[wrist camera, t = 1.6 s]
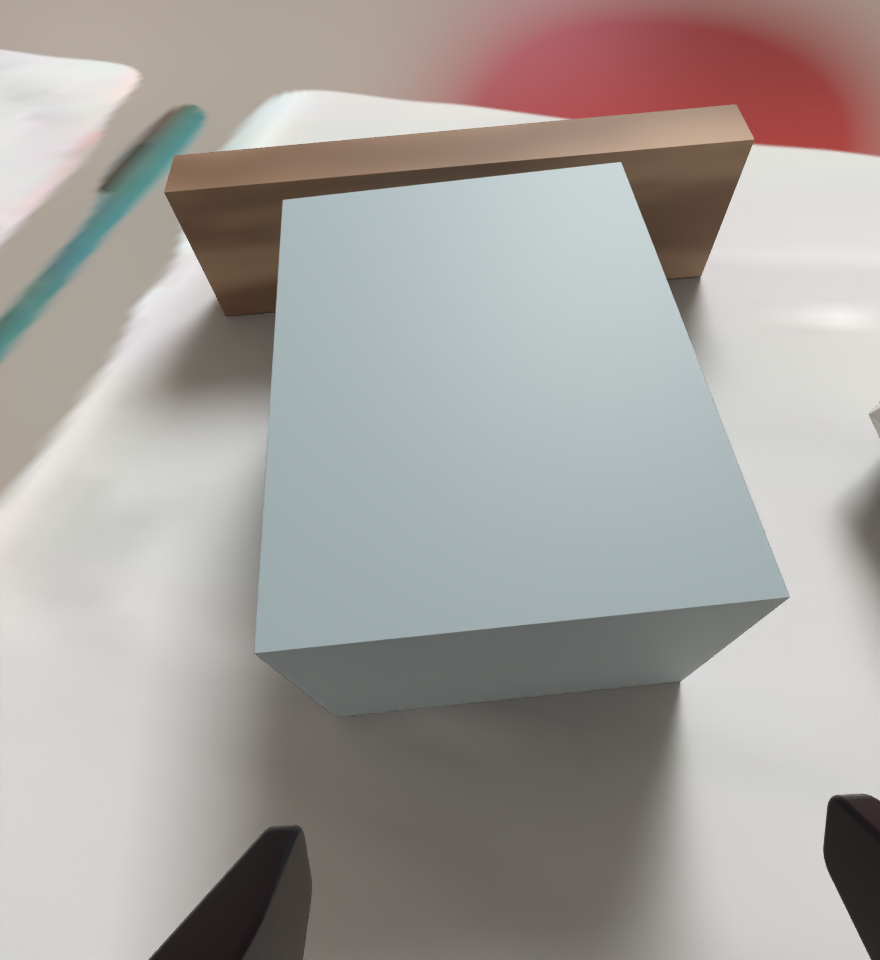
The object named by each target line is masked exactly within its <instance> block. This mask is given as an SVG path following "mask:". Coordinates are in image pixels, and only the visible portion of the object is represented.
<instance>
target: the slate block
mask: <svg viewBox="0 0 880 960" xmlns="http://www.w3.org/2000/svg"><path fill="white" fill-rule="evenodd" d="M789 597H790V596H789V593H788V591H787V588H786V586H785V583H784V580H783V578H782V575H781V573H780V570H779V568H778V565H777V562H776V560H775V557H774V555H773V552H772V549H771V547H770V544H769V542H768V539H767V537H766V534H765V531H764V529H763V526H762V524H761V521H760V519H759V516H758V513H757V511H756V508H755V506H754V503H753V501H752V498H751V495H750V493H749V490H748V488H747V485H746V483H745V480H744V477H743V475H742V472H741V470H740V467H739V464H738V462H737V459H736V457H735V454H734V452H733V449H732V446H731V444H730V441H729V439H728V436H727V434H726V431H725V428H724V426H723V423H722V421H721V418H720V416H719V413H718V410H717V408H716V405H715V403H714V400H713V398H712V395H711V392H710V390H709V387H708V385H707V382H706V379H705V377H704V374H703V372H702V369H701V367H700V364H699V361H698V359H697V356H696V354H695V351H694V349H693V346H692V343H691V341H690V338H689V336H688V333H687V331H686V328H685V325H684V323H683V320H682V318H681V315H680V313H679V310H678V307H677V305H676V302H675V300H674V297H673V295H672V292H671V289H670V287H669V284H668V282H667V279H666V276H665V274H664V271H663V269H662V266H661V264H660V261H659V258H658V256H657V253H656V251H655V248H654V246H653V243H652V240H651V238H650V235H649V233H648V230H647V228H646V225H645V222H644V220H643V217H642V215H641V212H640V210H639V207H638V204H637V202H636V199H635V197H634V194H633V191H632V189H631V186H630V184H629V181H628V179H627V176H626V173H625V171H624V168H623V166H622V163H621V162H617V163H608V164H599V165H590V166H581V167H572V168H563V169H554V170H545V171H536V172H527V173H519V174H510V175H501V176H492V177H483V178H474V179H465V180H456V181H447V182H438V183H429V184H420V185H412V186H403V187H394V188H385V189H376V190H367V191H358V192H349V193H340V194H331V195H322V196H314V197H305V198H296V199H287V200H283V205H282V221H281V236H280V252H279V268H278V284H277V300H276V315H275V331H274V347H273V363H272V379H271V395H270V410H269V426H268V442H267V458H266V474H265V489H264V505H263V521H262V537H261V553H260V568H259V584H258V600H257V616H256V632H255V648H254V654H256V655H257V656H258V657H260V658H261V659H262V660H263V661H265V662H266V663H267V664H269V665H270V666H271V667H272V668H274V669H275V670H276V671H278V672H279V673H280V674H281V675H283V676H284V677H285V678H286V679H288V680H289V681H290V682H292V683H293V684H294V685H295V686H297V687H298V688H299V689H301V690H302V691H303V692H304V693H306V694H307V695H308V696H310V697H311V698H312V699H313V700H315V701H316V702H317V703H318V704H320V705H321V706H322V707H324V708H325V709H326V710H327V711H329V712H330V713H331V714H333V715H334V716H335V717H343V716H352V715H362V714H372V713H381V712H391V711H401V710H410V709H420V708H430V707H439V706H449V705H459V704H468V703H478V702H488V701H497V700H507V699H517V698H526V697H536V696H546V695H555V694H565V693H575V692H584V691H594V690H604V689H613V688H623V687H633V686H642V685H652V684H662V683H671V682H680V681H682V680H683V679H684V678H686V677H687V676H688V675H690V674H691V673H692V672H693V671H695V670H696V669H697V668H699V667H700V666H701V665H703V664H704V663H705V662H706V661H708V660H709V659H710V658H712V657H713V656H714V655H715V654H717V653H718V652H719V651H721V650H722V649H723V648H725V647H726V646H727V645H728V644H730V643H731V642H732V641H734V640H735V639H736V638H738V637H739V636H740V635H741V634H743V633H744V632H745V631H747V630H748V629H749V628H751V627H752V626H753V625H754V624H756V623H757V622H758V621H760V620H761V619H762V618H763V617H765V616H766V615H767V614H769V613H770V612H771V611H773V610H774V609H775V608H776V607H778V606H779V605H780V604H782V603H783V602H784V601H786V600H787V599H788V598H789Z"/></svg>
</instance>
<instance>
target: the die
mask: <svg viewBox="0 0 880 960" xmlns="http://www.w3.org/2000/svg"><path fill="white" fill-rule="evenodd" d="M869 416H870V418H871V421H872V423H873V425H874V427H875V429H876V431H877V433H878V435H879V437H880V402H879V403H878V404H877V405H876V406H875V407H874V408H873V410H872V411H871V412H870V413H869Z"/></svg>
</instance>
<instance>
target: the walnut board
mask: <svg viewBox="0 0 880 960" xmlns="http://www.w3.org/2000/svg"><path fill="white" fill-rule="evenodd" d="M753 142H754V138H753V136H752V134H751V132H750V130H749V128H748V126H747V124H746V122H745V120H744V118H743V117H742V115H741V113H740V111H739V109H738V107H737V105H725V106H714V107H703V108H692V109H681V110H670V111H659V112H648V113H639V114H638V113H637V114H626V115H615V116H604V117H593V118H582V119H571V120H560V121H549V122H538V123H528V124H517V125H506V126H495V127H484V128H473V129H462V130H451V131H440V132H429V133H418V134H407V135H396V136H385V137H374V138H363V139H352V140H341V141H330V142H319V143H308V144H297V145H286V146H276V147H265V148H254V149H243V150H232V151H221V152H210V153H199V154H188V155H177V156H174V158H173V162H172V166H171V169H170V173H169V177H168V181H167V184H166V188H165V192H164V193H165V195H166V197H167V199H168V201H169V203H170V205H171V207H172V209H173V211H174V213H175V215H176V217H177V219H178V221H179V223H180V225H181V227H182V229H183V231H184V233H185V235H186V237H187V239H188V241H189V243H190V245H191V247H192V249H193V251H194V253H195V255H196V257H197V259H198V261H199V263H200V265H201V267H202V269H203V271H204V273H205V275H206V277H207V279H208V281H209V283H210V285H211V287H212V289H213V291H214V293H215V295H216V297H217V299H218V301H219V303H220V305H221V307H222V309H223V311H224V313H225V315H226V316H233V315H245V314H257V313H268V312H276V300H277V284H278V268H279V252H280V236H281V221H282V205H283V200H287V199H296V198H305V197H314V196H322V195H331V194H340V193H349V192H358V191H367V190H376V189H385V188H394V187H403V186H412V185H420V184H429V183H438V182H447V181H456V180H465V179H474V178H483V177H492V176H501V175H510V174H519V173H527V172H536V171H545V170H554V169H563V168H572V167H581V166H590V165H599V164H608V163H617V162H621V163H622V166H623V168H624V171H625V173H626V176H627V179H628V181H629V184H630V186H631V189H632V191H633V194H634V197H635V199H636V202H637V204H638V207H639V210H640V212H641V215H642V217H643V220H644V222H645V225H646V228H647V230H648V233H649V235H650V238H651V240H652V243H653V246H654V248H655V251H656V253H657V256H658V258H659V261H660V264H661V266H662V269H663V271H664V274H665V276H666V279H675V278H687V277H699V276H701V275H702V272H703V270H704V267H705V265H706V262H707V260H708V257H709V255H710V252H711V249H712V247H713V244H714V242H715V239H716V237H717V234H718V231H719V229H720V226H721V224H722V221H723V219H724V216H725V214H726V211H727V208H728V206H729V203H730V201H731V198H732V196H733V193H734V191H735V188H736V185H737V183H738V180H739V178H740V175H741V173H742V170H743V167H744V165H745V162H746V160H747V157H748V155H749V152H750V150H751V147H752V144H753Z"/></svg>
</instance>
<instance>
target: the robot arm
mask: <svg viewBox="0 0 880 960" xmlns="http://www.w3.org/2000/svg"><path fill="white" fill-rule="evenodd" d="M823 852H824V859H825V863H826V866H827V869H828V872H829V874H830V876H831V878H832V880H833V882H834V884H835V886H836V889H837V891H838V893H839V895H840V897H841V899H842V901H843V903H844V905H845V907H846V909H847V911H848V913H849V915H850V917H851V919H852V921H853V923H854V926H855V928H856V930H857V932H858V934H859V936H860V938H861V940H862V942H863V944H864V946H865V948H866V950H867V952H868V954H869V956H870V958H871V960H880V801H879V800H878V799H876V798H874V797H872V796H870V795H867V794H846V795H835V796H833V797H832V798H831V799H830V800H829V802H828V806H827V816H826V826H825V836H824V846H823ZM311 893H312V879H311V872H310V866H309V860H308V854H307V848H306V842H305V836H304V833H303V830H302V828H301V827H299V826H297V825H292V826H274V827H270V828H268V829H267V830H265V831H264V832H263V833H262V834H261V835H260V837H259V838H258V839H257V840H256V841H255V842H254V843H253V844H252V845H251V847H250V848H249V849H248V850H247V851H246V852H245V853H244V854H243V855H242V857H241V858H240V859H239V860H238V861H237V862H236V863H235V864H234V865H233V867H232V868H231V869H230V870H229V871H228V872H227V873H226V874H225V875H224V876H223V878H222V879H221V880H220V881H219V882H218V883H217V884H216V885H215V886H214V888H213V889H212V890H211V891H210V892H209V893H208V894H207V895H206V896H205V898H204V899H203V900H202V901H201V902H200V903H199V904H198V905H197V906H196V908H195V909H194V910H193V911H192V912H191V913H190V914H189V915H188V916H187V918H186V919H185V920H184V921H183V922H182V923H181V924H180V925H179V926H178V928H177V929H176V930H175V931H174V932H173V933H172V934H171V935H170V936H169V938H168V939H167V940H166V941H165V942H164V943H163V944H162V945H161V946H160V947H159V949H158V950H157V951H156V952H155V953H154V954H153V955H152V956H151V957H150V959H149V960H303V953H304V946H305V939H306V932H307V925H308V918H309V910H310V903H311Z"/></svg>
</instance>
